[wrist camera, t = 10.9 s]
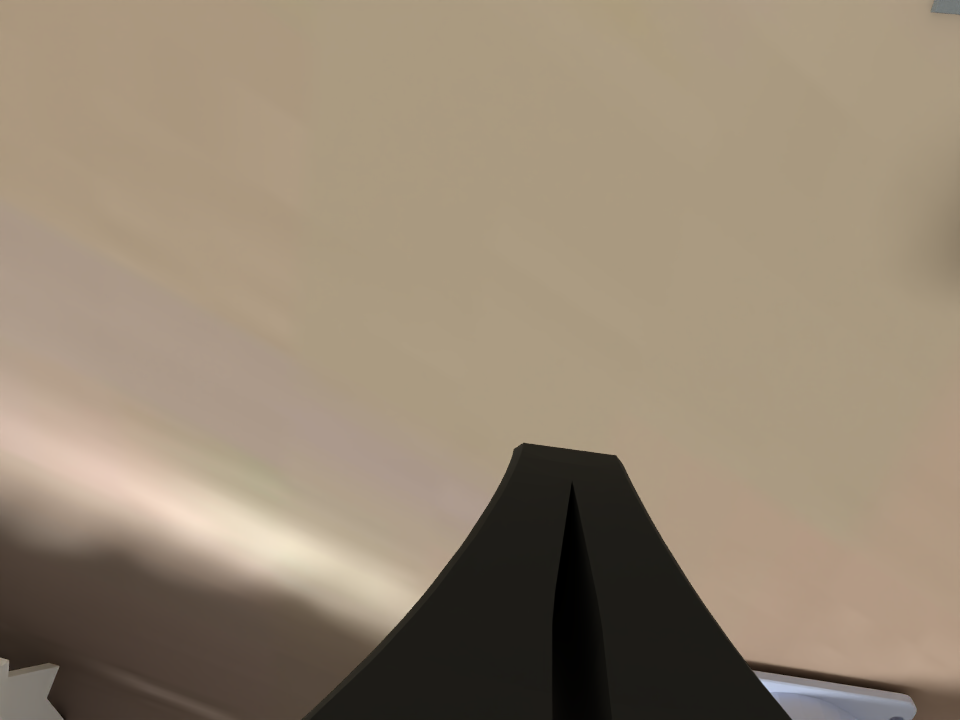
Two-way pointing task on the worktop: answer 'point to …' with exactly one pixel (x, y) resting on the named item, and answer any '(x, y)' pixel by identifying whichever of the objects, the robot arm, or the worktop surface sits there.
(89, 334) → the worktop surface
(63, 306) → the worktop surface
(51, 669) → the spiral staircase
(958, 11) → the mat
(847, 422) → the worktop surface
